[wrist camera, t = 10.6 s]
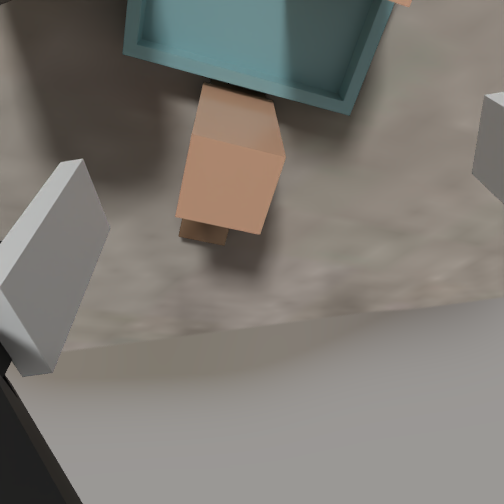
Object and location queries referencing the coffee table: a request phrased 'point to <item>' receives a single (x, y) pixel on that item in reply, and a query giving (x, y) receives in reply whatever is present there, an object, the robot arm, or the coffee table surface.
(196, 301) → the coffee table surface
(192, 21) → the bin
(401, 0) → the block
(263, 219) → the block
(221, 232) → the strip
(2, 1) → the coffee can
